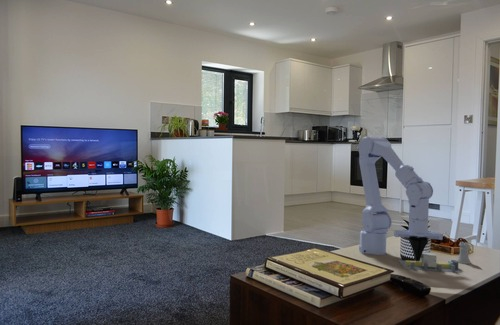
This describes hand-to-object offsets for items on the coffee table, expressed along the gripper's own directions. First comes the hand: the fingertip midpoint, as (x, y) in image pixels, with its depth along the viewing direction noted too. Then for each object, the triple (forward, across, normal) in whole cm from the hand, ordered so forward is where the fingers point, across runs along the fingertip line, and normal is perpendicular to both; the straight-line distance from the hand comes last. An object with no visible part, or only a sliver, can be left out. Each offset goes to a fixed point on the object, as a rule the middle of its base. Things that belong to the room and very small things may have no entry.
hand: (417, 259), depth 122 cm
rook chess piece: (+3, +17, +8) cm, 19 cm away
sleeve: (+2, +3, 0) cm, 4 cm away
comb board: (+3, +4, 0) cm, 5 cm away
